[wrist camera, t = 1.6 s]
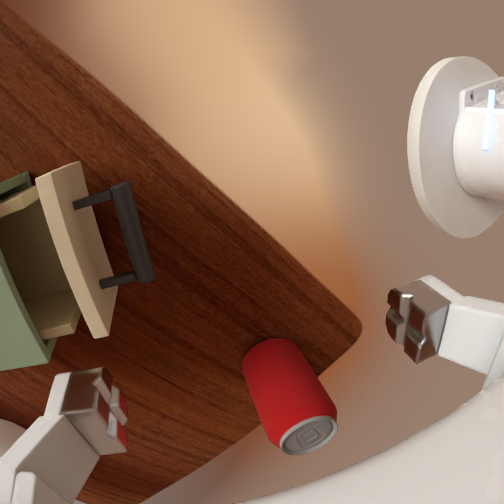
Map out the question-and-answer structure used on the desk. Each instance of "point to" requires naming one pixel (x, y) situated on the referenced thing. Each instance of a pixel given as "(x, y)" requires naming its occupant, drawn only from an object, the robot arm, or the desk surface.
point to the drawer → (68, 251)
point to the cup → (9, 435)
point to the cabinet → (18, 309)
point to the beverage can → (289, 397)
